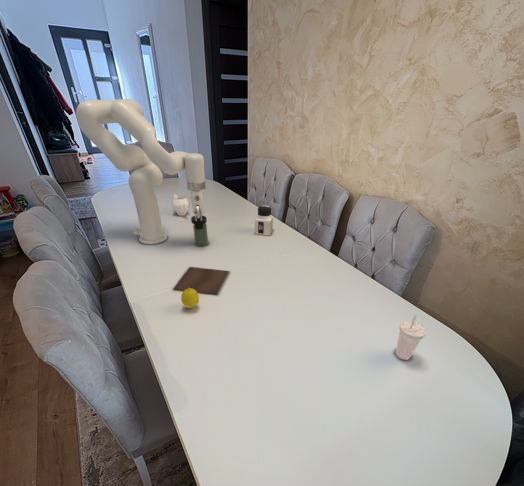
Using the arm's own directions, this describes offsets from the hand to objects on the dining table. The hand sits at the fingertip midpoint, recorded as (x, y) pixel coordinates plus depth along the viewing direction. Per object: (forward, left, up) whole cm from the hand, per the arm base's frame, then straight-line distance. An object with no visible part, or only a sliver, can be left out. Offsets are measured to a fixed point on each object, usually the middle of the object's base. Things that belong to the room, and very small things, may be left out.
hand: (199, 225), depth 138 cm
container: (+26, +20, -9) cm, 34 cm away
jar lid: (0, 0, +3) cm, 3 cm away
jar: (0, 0, -9) cm, 9 cm away
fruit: (+13, -48, -9) cm, 51 cm away
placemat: (+11, -31, -9) cm, 34 cm away
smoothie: (+78, -57, -9) cm, 97 cm away
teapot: (-24, +35, -9) cm, 43 cm away
